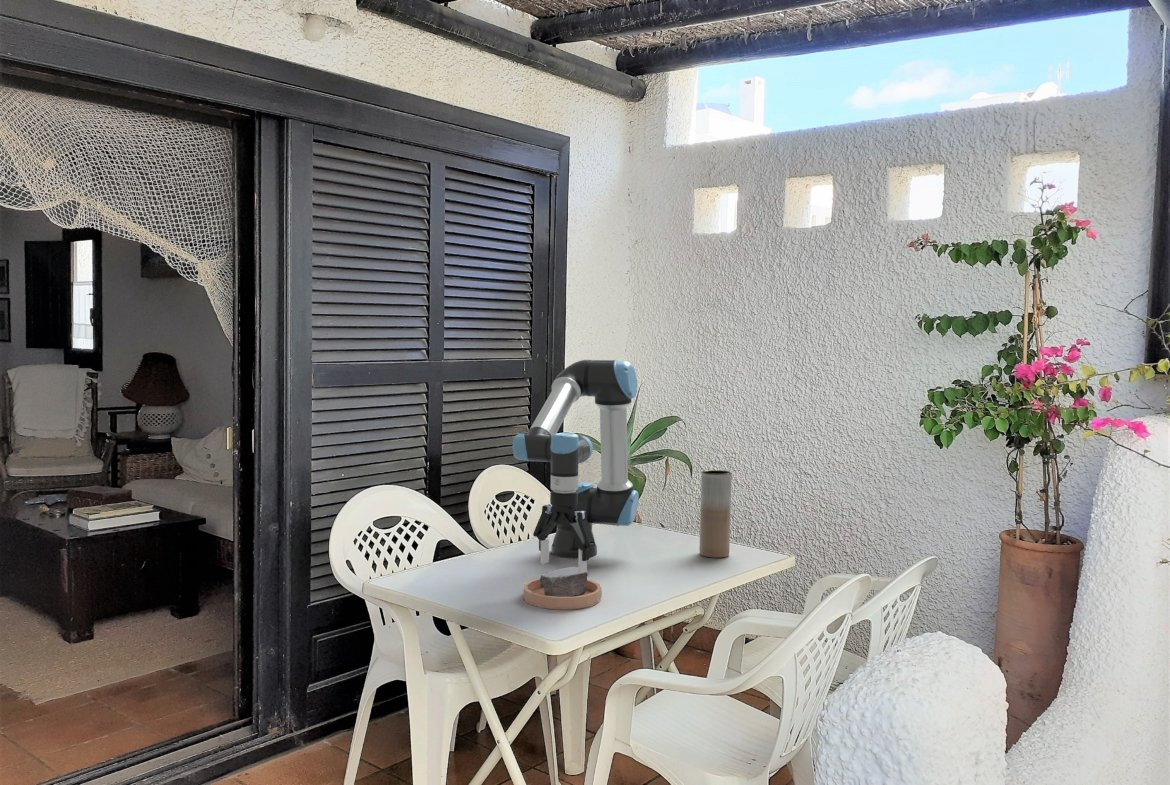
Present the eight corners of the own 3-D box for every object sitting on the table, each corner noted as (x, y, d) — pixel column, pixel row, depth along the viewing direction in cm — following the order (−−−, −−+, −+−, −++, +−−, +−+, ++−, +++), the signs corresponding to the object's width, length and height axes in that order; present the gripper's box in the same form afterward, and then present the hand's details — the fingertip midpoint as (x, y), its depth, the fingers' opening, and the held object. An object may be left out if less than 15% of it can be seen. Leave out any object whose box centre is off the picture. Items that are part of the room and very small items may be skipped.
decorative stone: (593, 592, 246) (561, 585, 250) (594, 567, 245) (563, 561, 250) (568, 606, 233) (535, 599, 237) (569, 580, 232) (536, 574, 237)
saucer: (507, 598, 240) (507, 587, 240) (558, 583, 256) (558, 572, 256) (566, 615, 227) (566, 602, 226) (616, 597, 243) (616, 586, 243)
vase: (734, 557, 292) (736, 473, 290) (705, 558, 289) (708, 474, 288) (722, 550, 301) (724, 469, 300) (694, 551, 299) (697, 470, 297)
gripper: (521, 486, 245) (520, 562, 246) (591, 498, 229) (590, 579, 230) (539, 483, 250) (538, 557, 252) (609, 494, 235) (607, 573, 236)
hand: (563, 567), depth 241 cm, fingers open, 13 cm apart
